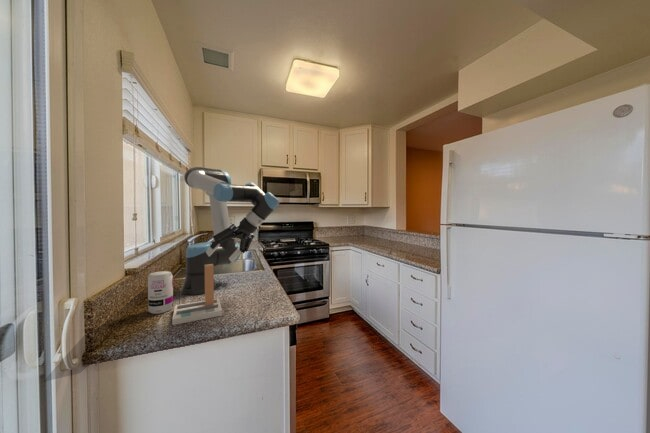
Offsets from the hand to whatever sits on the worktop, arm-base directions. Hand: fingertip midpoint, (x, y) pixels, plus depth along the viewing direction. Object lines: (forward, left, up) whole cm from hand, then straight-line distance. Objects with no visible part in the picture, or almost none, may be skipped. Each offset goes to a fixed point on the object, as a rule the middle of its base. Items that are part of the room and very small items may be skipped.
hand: (219, 257), depth 105 cm
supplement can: (0, -22, -19) cm, 29 cm away
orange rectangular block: (+10, -5, -17) cm, 20 cm away
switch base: (+10, -9, -19) cm, 23 cm away
